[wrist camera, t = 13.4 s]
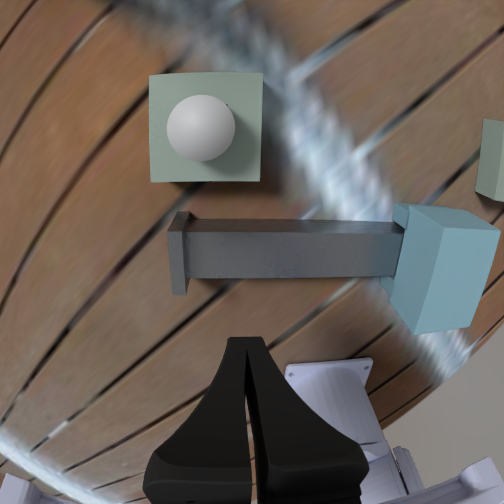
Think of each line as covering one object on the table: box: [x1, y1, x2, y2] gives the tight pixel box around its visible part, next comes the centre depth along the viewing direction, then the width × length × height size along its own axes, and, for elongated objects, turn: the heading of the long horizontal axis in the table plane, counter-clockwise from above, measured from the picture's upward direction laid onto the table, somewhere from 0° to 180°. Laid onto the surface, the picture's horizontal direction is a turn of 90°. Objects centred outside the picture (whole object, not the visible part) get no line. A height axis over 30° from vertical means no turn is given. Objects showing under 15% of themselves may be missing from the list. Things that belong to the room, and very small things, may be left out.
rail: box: [167, 212, 405, 295], centre depth 20 cm, size 4×22×4 cm, turn 89°
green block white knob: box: [149, 72, 263, 182], centre depth 16 cm, size 6×6×5 cm
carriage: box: [380, 203, 501, 335], centre depth 19 cm, size 7×5×6 cm
